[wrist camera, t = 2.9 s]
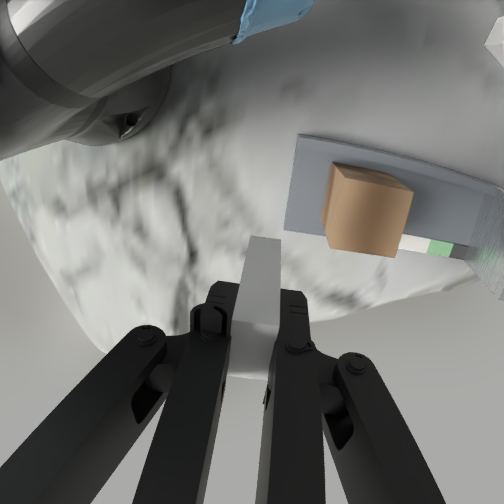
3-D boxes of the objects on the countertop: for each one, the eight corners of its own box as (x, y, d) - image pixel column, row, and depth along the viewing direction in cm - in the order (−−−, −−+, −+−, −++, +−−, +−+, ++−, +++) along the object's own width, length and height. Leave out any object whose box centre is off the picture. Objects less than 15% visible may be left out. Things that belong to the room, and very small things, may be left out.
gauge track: (283, 225, 34) (284, 237, 31) (297, 134, 29) (299, 137, 26) (474, 257, 33) (486, 269, 30) (498, 186, 29) (512, 194, 26)
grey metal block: (462, 259, 32) (498, 299, 24) (487, 183, 28) (534, 210, 20) (478, 262, 32) (514, 301, 24) (503, 189, 28) (548, 216, 20)
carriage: (318, 227, 32) (327, 258, 26) (331, 161, 29) (345, 177, 23) (376, 236, 32) (397, 268, 26) (392, 174, 29) (419, 193, 22)
